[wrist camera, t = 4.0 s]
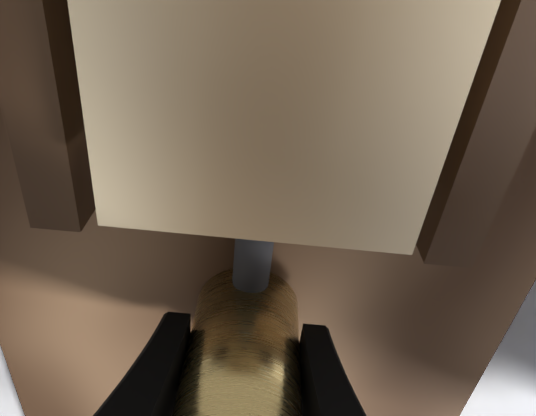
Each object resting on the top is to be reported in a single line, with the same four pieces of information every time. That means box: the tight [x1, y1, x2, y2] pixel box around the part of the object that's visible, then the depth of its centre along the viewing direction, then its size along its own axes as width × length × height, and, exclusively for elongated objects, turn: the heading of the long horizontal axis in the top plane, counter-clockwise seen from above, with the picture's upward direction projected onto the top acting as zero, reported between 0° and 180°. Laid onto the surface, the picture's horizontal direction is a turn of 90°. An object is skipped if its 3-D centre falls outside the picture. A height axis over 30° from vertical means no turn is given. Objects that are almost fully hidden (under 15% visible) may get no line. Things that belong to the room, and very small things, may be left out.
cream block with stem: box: [67, 0, 501, 416], centre depth 9 cm, size 5×12×5 cm, turn 174°
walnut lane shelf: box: [0, 0, 536, 416], centre depth 12 cm, size 16×26×4 cm, turn 175°
